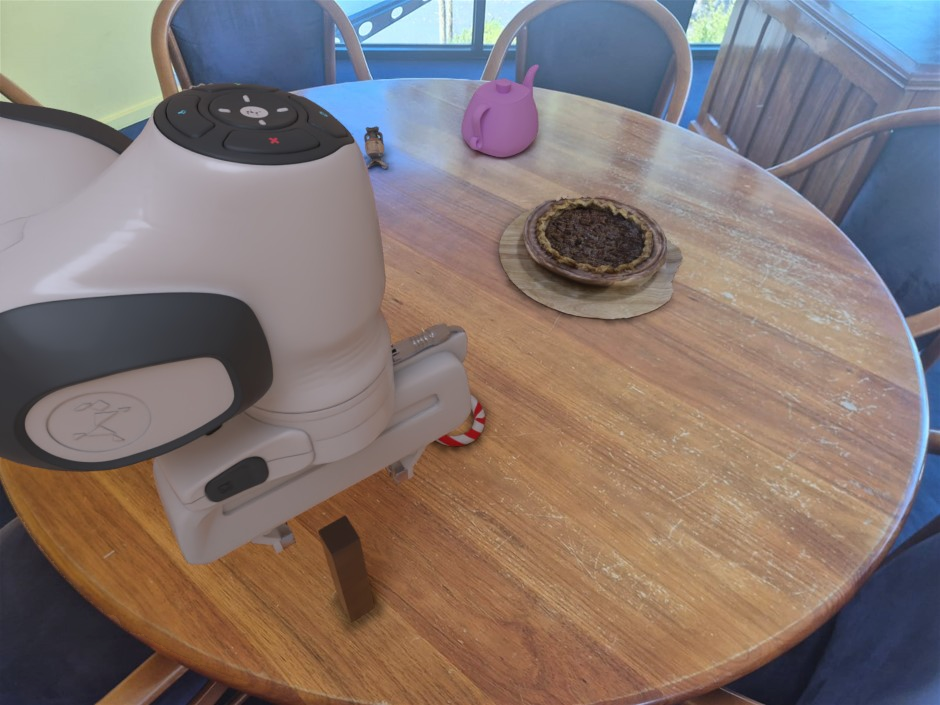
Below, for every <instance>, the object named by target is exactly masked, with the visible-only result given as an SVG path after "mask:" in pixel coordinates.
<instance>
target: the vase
mask: <svg viewBox="0 0 940 705" xmlns="http://www.w3.org/2000/svg"><path fill="white" fill-rule="evenodd" d="M365 131H366V133H365V134H364V136H363V139H364V150H365V152H366V155H367V157H368V158H370V159H371V160H370V163H369V164H367V163H366V165H367V168H368V170H369V169H370V168H371V167H372V166H374V165H380V166H381V168H383V169H384V170H386V169H388V167H389V165H390V164H389V162H385V161H383V160H382V158H383V156H384V154H385V143H384V135H383V133H382V132H381V131H380V127H379V126H372V127H369V126H366V127H365ZM386 131H387V130H385V132H386Z"/></svg>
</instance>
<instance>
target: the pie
mask: <svg viewBox="0 0 940 705" xmlns="http://www.w3.org/2000/svg"><path fill="white" fill-rule="evenodd" d="M498 254H499V259H500V263H501V266H502V269H503V270H504V271H505V273H506V275H507V276H508V278H509V280H510V281H511V282H512V283H513V284H514V285H515V286H516V287H517V288H518V289H519V290H520V291H521V292H522V293H524V294H525V295H526V296H528V297H529V298H531V299H532V300H534V301H536V302H537V303H539V304H542V305H544V306H546V307H548V308H551V309H553V310H556V311H559V312H562V313H564V314H568V315H571V316H576V317H583V318H594V319H603V320H617V319H629V318H632V317H637V316H641V315H645V314H647V313H651V312H653V311H655V310H656V309H659V308H660V307H663V306H664V305H665V304H667V303H668V302H669V301H670V300H671V297H672V296H673V293H674V291H675V290H674V288H673V282H672V281H674V280H675V278H674V276H675V275H676V273H677V272H678V267H680V265H681V263H682V262H683V261H682V260H683V254H682V250H681V248H680V247H679V246H678V245H676V244H675V243H672V242H671V240H670V239H668V238H667V236H666V234H665V232H664V230H663V228H662V227H661V225H660V224H659V222H657V220H656V219H655V218H654V217H652V216H651V215H649V214H648V213H647V212H645V210H642V209H641V208H638V207H636V206H634V205H631V204H628V203H626V202H624V201H622V200H619V199H615V198H613V197H608V196H603V195H601V196H595V197H594V198H593V197H591V196H586V197H584V196H580V197H578V198H577V197H576V198H574V197H572V198H569V195H567V196H566V197H565V198H564V197H562V196H561V197H560V199H559V200H557V199H548V200H544V201H543V202H542V203H541V204H538V205H537V206H535V207H533V208H531V209H529V210H526V211H525V212H523V213H521V214H520V215H519V216H518V217H516V218H515V219H514V220H513V221H511V222H510V224H508V226H507V227H506V228H505V230H504V232H503V234H501V238H500V241H499V247H498Z"/></svg>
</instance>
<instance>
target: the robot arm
mask: <svg viewBox="0 0 940 705" xmlns="http://www.w3.org/2000/svg"><path fill="white" fill-rule="evenodd" d="M208 84H209V85H208ZM208 84H205V85H203V86H198V85H197V86H198V87H195V88H192V89H189V88H187V89H188V90H184V91H183V90H181V91H178V92H175V93H173V94H171V95H169V96H167V97H166V98H164V99H163V100H161V102H159V103H158V104H157V105H156V106H155V107H154V109H153V111H152V112H151V114H150V116H149V118H148V120H147V122H146V124H145V125H144V127H143V129H142V131H140V133H139V135H138V136H137V137H136V138H135V139H134V140H133V139H132V138H130V137H129V136H127V135H125V134H124V133H123V132H121V131H119V130H118V129H116V128H114V127H112V126H111V125H109V124H106V123H104V122H102V121H100V120H97V119H94V118H92V117H89V116H86V115H83V114H79V113H77V112H72V111H68V110H64V109H60V108H59V109H58V108H54V107H48V106H40V105H34V104H25V103H18V102H11V101H10V102H9V101H3V100H0V458H1V459H3V460H7V461H10V462H12V463H15V464H20V465H24V466H28V467H31V468H37V469H42V470H43V469H44V470H50V471H56V472H70V473H71V472H74V473H75V472H77V473H88V472H104V471H113V470H117V469H121V468H126V467H130V466H133V465H136V464H140V463H142V462H146V461H149V460H152V459H153V464H152V474H153V475H152V476H153V479H154V485H155V488H156V492H157V496H158V498H159V500H160V503H161V505H162V509H163V511H164V515H165V516H166V519H167V522H168V524H169V527H170V529H171V531H172V534H173V536H174V538H175V540H176V543H177V545H178V547H179V549H180V552H181V555H182V556H183V558H184V561H185V562H186V563H187V564H188V565H191V566H203V565H204V566H205V565H209V564H212V563H214V562H216V561H219V559H221V558H223V557H225V556H226V555H228V554H230V553H232V552H234V551H236V550H237V549H239V548H241V547H243V546H245V545H246V544H249V543H251V544H256V545H257V544H258V545H267V546H272V548H273V549H274V552H275V554H276V555H278V554H279V553H282V552H283V551H284V550H287V549H288V548H289V547H291V546H293V545H294V544H296V543H297V540H296V538H295V534H294V532H293V531H292V529H291V527H290V525H289V524H288V522H289V521H291V520H293V519H294V518H296V517H298V516H300V515H301V514H303V513H305V512H307V511H308V510H311V509H313V508H314V507H316V506H318V505H320V504H321V503H324V502H326V501H327V500H329V499H330V498H333V497H335V496H336V495H338V494H340V493H342V492H343V491H346V490H347V489H349V488H351V487H353V486H355V485H357V484H358V483H360V482H362V481H363V480H364V481H365V479H367V478H369V477H371V476H372V475H374V474H376V473H379V472H380V471H382V470H384V469H385V472H386V474H387V475H388V477H389V478H391V479H392V483H393V484H394V485H395V486H399V485H401V484H402V483H404V482H406V481H409V480H410V479H412V478H414V476H415V474H414V472H415V471H414V466H416V464H417V462H418V461H419V460H420V458H421V457H422V455H423V453H424V452H425V450H426V449H427V447H428V446H427V445H429V444H432V443H433V442H435V441H436V440H437V439H439V438H440V437H442V436H444V435H448V434H449V433H451V432H453V431H455V430H457V429H459V428H461V427H462V426H463V424H464V423H465V422H466V421H467V419H468V418H469V416H470V414H471V413H472V410H471V395H472V393H471V385H470V381H469V380H470V379H469V375H468V372H467V369H466V367H465V365H464V362H465V360H466V357H467V354H468V342H469V339H468V335H467V333H466V330H465V329H464V328H463V327H461V326H459V325H457V324H456V325H448V324H446V323H445V322H443V323H437V324H434V325H432V326H430V327H428V328H426V329H425V330H424V331H422V332H421V333H419V334H416V335H413V336H409V337H406V338H404V339H401V340H399V341H397V342H395V343H393V344H392V337H391V330H390V327H389V323H388V321H387V318H386V317H385V315H384V313H383V311H382V308H381V307H382V304H383V301H384V297H385V291H386V284H387V279H386V278H387V276H386V266H385V258H384V257H385V256H384V247H383V240H382V233H381V225H380V219H379V213H378V208H377V203H376V202H377V201H376V197H375V193H374V189H373V184H372V179H371V176H370V172H369V169H368V167H367V166H368V164H367V162H366V159H365V156H364V154H363V152H362V149H361V147H360V146H359V143H358V141H357V139H356V138H355V137H354V136H353V133H351V131H349V129H348V128H347V127H346V126H344V124H343V123H342V122H340V121H339V120H338V119H337V118H336V117H335V116H334V115H333V114H332V113H331V112H329V111H328V110H327V109H325V108H324V107H323V106H321V105H319V104H318V103H316V102H315V101H313V100H311V99H309V98H307V97H305V96H303V95H302V96H301V95H298V94H295V93H292V92H289V91H285V90H282V89H280V88H279V87H274V86H269V85H261V84H256V83H255V84H254V83H244V82H243V83H242V82H218V83H212V84H211V83H208ZM366 164H367V165H366Z"/></svg>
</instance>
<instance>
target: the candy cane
mask: <svg viewBox="0 0 940 705" xmlns="http://www.w3.org/2000/svg"><path fill="white" fill-rule="evenodd" d="M471 413H472V414H473V418H474V419H473V424H472V426H471V427H470V429H469V430H468V431H466V432H464V433H462V434H459V435H448V434H446V435H444V436H442V437H440V438H439V439H437V440H435V441H436V442H437V443H439V444H441V445H444V446H447V447H461V446H466V445H468V444H471V443H473V442H475V441H476V440H477V439H478V438H479V437H480V436H481V434H482V432H483V430H484V428H485V424H486V414H485V411H484V408H483V405H482V404H481V403H480V401H479V400H478V399H477V398H476V397H475V396H473V395H472V394H471Z"/></svg>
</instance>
